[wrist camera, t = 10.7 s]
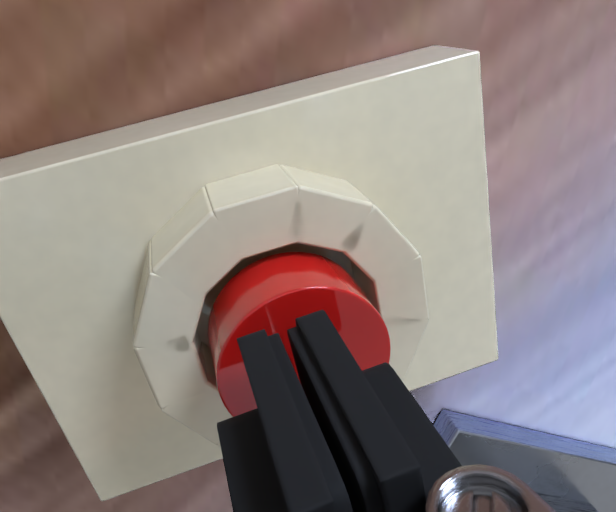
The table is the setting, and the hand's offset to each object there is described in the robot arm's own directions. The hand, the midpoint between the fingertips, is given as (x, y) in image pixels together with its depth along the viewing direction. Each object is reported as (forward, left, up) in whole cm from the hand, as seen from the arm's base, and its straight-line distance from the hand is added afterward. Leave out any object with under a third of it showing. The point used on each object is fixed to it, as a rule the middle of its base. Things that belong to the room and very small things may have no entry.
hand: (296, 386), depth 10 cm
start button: (0, 0, -2) cm, 2 cm away
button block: (0, 0, -6) cm, 6 cm away
